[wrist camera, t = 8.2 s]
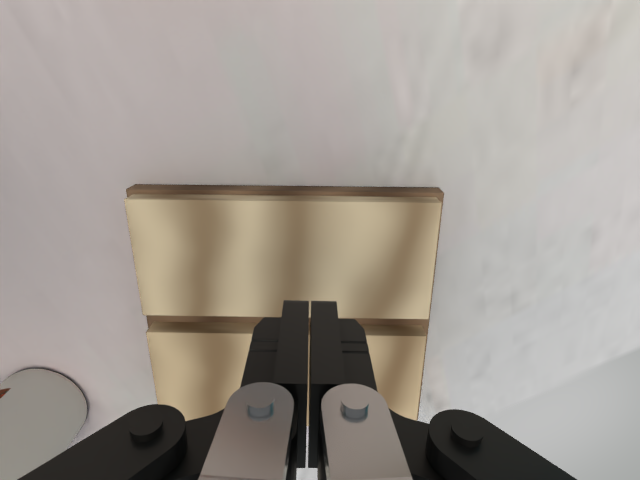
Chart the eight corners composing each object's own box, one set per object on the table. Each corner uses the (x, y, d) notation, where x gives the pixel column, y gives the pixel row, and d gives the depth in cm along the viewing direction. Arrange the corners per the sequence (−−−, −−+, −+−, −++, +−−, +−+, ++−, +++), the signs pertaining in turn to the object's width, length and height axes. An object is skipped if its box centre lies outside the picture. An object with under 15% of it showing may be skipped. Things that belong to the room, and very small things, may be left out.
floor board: (168, 402, 38) (155, 428, 35) (135, 184, 31) (115, 195, 28) (414, 406, 37) (421, 433, 35) (438, 187, 30) (449, 198, 28)
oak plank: (150, 305, 32) (142, 315, 31) (133, 193, 29) (124, 199, 28) (424, 308, 32) (428, 319, 31) (436, 197, 29) (441, 202, 28)
